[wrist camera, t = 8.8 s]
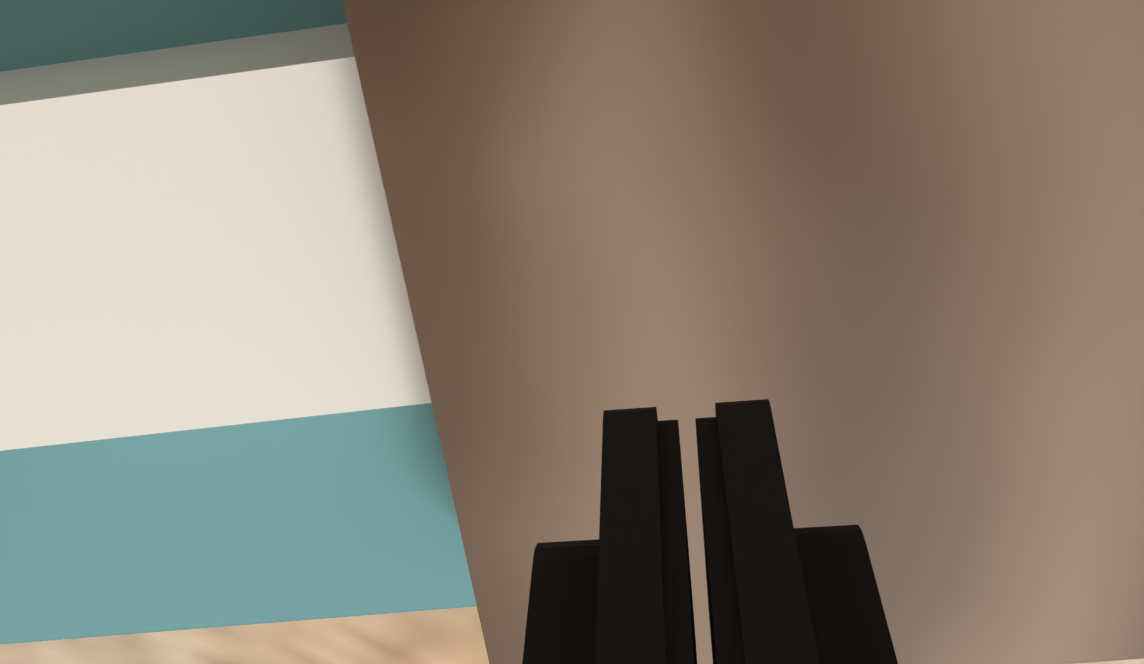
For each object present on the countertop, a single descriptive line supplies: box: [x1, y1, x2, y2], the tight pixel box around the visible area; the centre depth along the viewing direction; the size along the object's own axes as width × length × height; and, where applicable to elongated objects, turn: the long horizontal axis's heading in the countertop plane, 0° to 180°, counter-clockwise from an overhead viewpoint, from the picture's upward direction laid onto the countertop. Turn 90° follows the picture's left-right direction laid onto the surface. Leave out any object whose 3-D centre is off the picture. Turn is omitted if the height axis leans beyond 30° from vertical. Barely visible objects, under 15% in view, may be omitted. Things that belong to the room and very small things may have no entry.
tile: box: [0, 23, 432, 451], centre depth 18 cm, size 8×6×2 cm
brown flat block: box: [342, 0, 1144, 664], centre depth 17 cm, size 13×16×4 cm
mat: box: [0, 0, 477, 644], centre depth 20 cm, size 12×18×1 cm, turn 7°
